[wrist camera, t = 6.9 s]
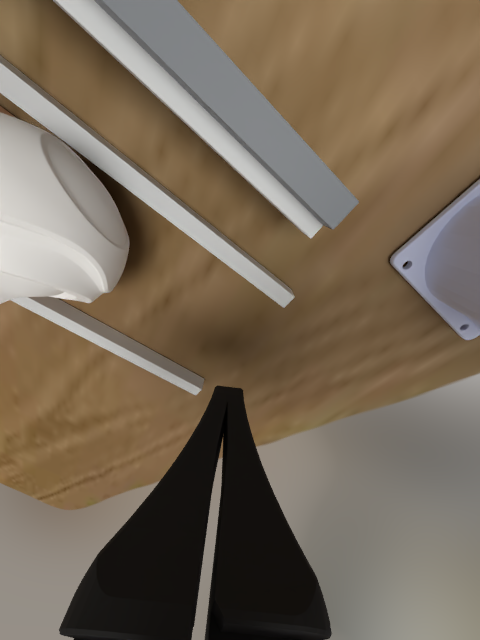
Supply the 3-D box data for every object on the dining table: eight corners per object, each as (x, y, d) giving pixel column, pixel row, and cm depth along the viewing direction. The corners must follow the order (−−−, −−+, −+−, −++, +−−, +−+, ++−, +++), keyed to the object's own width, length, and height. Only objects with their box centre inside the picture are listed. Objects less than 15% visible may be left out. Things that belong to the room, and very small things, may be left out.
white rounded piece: (36, 267, 14) (-145, 332, 8) (-14, 119, 11) (-463, -7, 4) (155, 287, 15) (79, 364, 8) (149, 150, 11) (-6, 85, 4)
